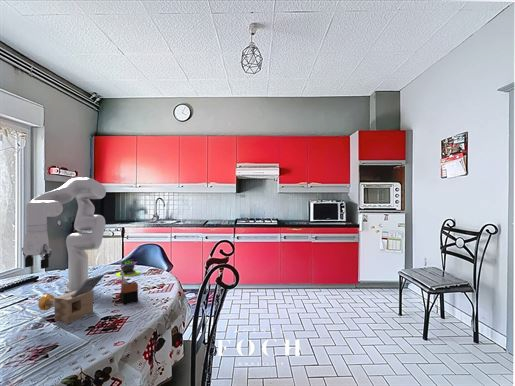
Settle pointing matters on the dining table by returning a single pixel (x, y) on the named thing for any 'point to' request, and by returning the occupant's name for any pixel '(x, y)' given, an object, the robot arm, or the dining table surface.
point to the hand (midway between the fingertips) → (36, 267)
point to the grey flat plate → (87, 286)
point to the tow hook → (121, 286)
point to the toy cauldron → (127, 269)
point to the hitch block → (73, 306)
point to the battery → (129, 292)
